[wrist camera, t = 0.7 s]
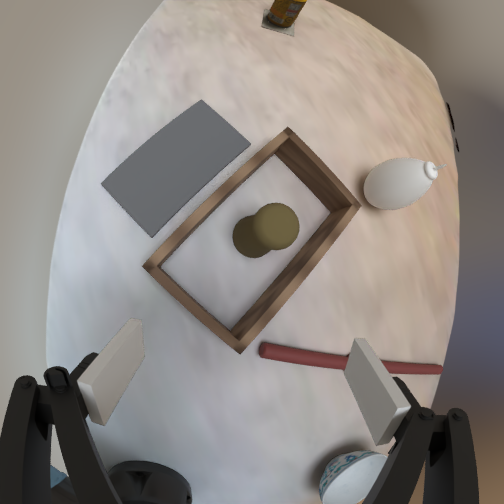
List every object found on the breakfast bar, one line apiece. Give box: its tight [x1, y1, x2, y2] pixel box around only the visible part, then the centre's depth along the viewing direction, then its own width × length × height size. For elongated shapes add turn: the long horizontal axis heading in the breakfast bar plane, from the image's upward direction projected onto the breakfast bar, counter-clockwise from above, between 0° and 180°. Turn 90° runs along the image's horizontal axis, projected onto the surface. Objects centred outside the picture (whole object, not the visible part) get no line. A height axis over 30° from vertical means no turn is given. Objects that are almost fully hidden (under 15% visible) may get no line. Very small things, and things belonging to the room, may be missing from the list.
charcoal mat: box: [101, 100, 251, 237], centre depth 37 cm, size 20×11×1 cm, turn 136°
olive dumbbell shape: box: [233, 203, 299, 258], centre depth 34 cm, size 6×6×11 cm
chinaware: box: [319, 450, 387, 504], centre depth 37 cm, size 15×15×8 cm
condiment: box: [262, 0, 307, 36], centre depth 38 cm, size 7×8×12 cm
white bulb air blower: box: [364, 158, 447, 210], centre depth 37 cm, size 8×8×18 cm
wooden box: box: [142, 127, 362, 354], centre depth 36 cm, size 26×15×6 cm, turn 136°
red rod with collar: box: [259, 342, 443, 374], centre depth 42 cm, size 45×3×3 cm, turn 73°
